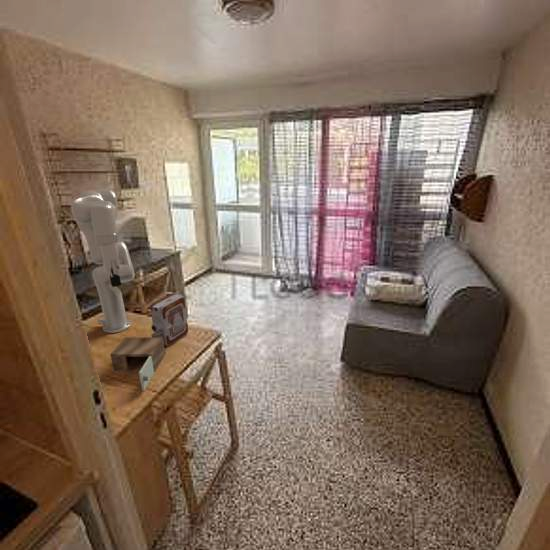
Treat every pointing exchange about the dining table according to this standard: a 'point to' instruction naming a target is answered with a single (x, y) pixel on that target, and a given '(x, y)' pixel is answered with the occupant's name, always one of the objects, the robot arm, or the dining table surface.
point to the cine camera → (169, 319)
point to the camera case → (137, 353)
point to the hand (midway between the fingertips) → (116, 285)
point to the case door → (146, 373)
